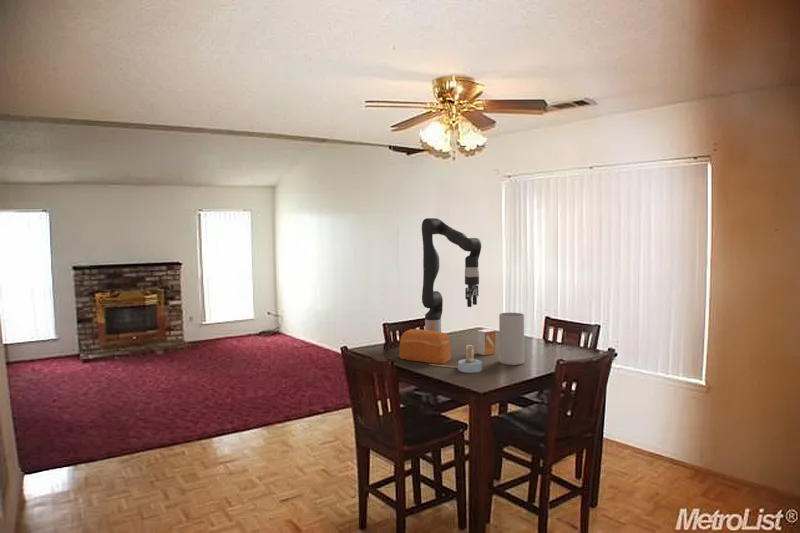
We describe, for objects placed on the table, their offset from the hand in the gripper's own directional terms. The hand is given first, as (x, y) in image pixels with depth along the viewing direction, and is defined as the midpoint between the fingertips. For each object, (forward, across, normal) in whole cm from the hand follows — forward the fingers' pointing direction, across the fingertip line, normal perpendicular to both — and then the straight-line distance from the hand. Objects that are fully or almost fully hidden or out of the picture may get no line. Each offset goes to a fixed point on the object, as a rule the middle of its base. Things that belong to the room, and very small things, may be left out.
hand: (472, 305), depth 292 cm
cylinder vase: (+28, +2, +22) cm, 36 cm away
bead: (+28, +24, +7) cm, 38 cm away
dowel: (+28, +24, +7) cm, 38 cm away
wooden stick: (+28, +24, -7) cm, 38 cm away
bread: (+28, +13, -22) cm, 38 cm away
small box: (+28, -12, +4) cm, 31 cm away
